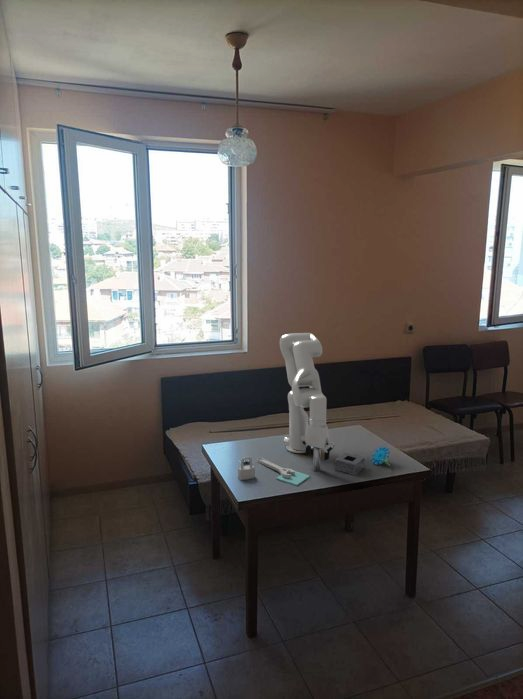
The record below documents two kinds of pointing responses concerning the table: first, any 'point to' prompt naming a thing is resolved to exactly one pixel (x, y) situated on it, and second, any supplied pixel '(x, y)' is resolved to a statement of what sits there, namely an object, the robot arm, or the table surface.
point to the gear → (380, 456)
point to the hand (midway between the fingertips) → (317, 457)
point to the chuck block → (349, 463)
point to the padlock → (246, 470)
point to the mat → (294, 478)
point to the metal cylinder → (316, 458)
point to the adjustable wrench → (277, 468)
